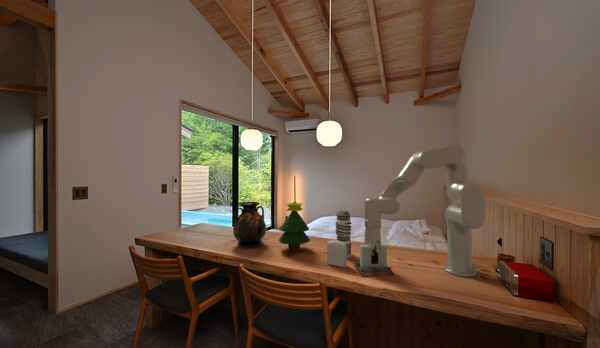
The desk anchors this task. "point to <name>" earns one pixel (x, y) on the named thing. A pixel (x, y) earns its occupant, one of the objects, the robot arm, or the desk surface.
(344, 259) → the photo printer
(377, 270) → the door track
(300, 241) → the decorative tree
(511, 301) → the desk surface
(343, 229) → the grey layered cylinder
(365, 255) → the pale sage cube
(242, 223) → the amphora vase
